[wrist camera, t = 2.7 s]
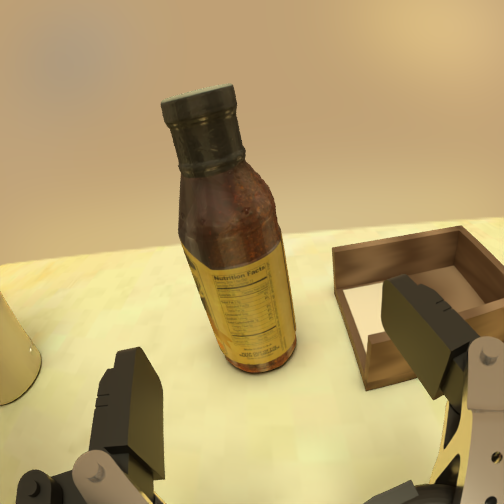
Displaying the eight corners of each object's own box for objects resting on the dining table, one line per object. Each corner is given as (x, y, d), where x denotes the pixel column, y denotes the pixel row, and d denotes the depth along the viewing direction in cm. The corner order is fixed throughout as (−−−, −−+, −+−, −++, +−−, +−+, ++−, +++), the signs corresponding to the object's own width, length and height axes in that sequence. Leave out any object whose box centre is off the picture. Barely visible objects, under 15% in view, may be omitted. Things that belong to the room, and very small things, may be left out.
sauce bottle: (236, 321, 30) (176, 95, 20) (304, 323, 28) (266, 76, 18) (212, 376, 24) (118, 112, 14) (290, 384, 22) (232, 81, 12)
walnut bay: (366, 390, 20) (371, 344, 18) (334, 292, 30) (331, 247, 28) (512, 343, 19) (531, 296, 17) (454, 267, 29) (461, 225, 27)
